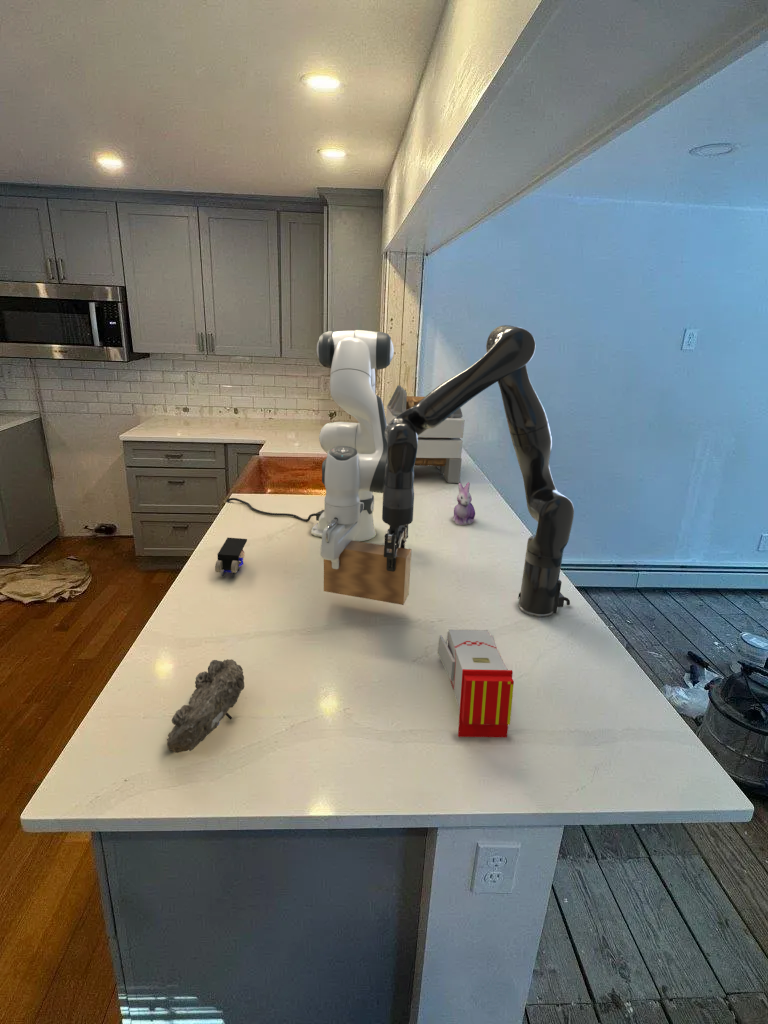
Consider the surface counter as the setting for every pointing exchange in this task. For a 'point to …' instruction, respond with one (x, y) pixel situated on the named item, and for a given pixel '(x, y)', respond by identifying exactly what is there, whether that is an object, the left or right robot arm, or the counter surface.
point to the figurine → (464, 506)
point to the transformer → (433, 437)
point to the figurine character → (230, 556)
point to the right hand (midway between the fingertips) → (395, 563)
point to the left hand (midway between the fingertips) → (341, 561)
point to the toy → (478, 682)
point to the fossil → (206, 705)
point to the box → (369, 573)
